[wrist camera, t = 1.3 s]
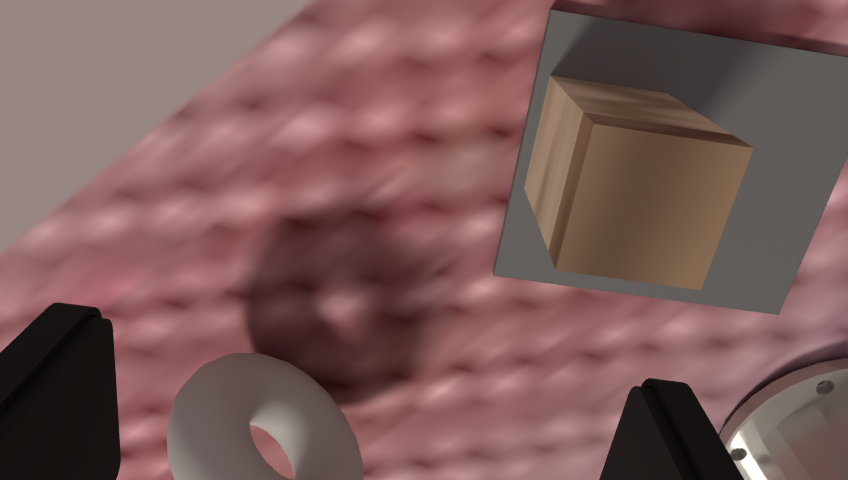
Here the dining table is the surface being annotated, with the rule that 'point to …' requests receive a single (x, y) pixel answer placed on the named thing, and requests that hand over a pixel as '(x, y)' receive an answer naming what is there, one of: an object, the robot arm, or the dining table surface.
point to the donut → (258, 423)
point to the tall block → (631, 183)
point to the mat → (726, 107)
